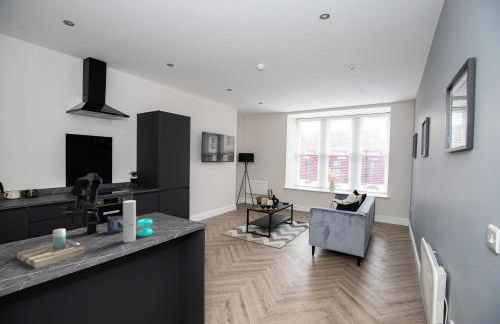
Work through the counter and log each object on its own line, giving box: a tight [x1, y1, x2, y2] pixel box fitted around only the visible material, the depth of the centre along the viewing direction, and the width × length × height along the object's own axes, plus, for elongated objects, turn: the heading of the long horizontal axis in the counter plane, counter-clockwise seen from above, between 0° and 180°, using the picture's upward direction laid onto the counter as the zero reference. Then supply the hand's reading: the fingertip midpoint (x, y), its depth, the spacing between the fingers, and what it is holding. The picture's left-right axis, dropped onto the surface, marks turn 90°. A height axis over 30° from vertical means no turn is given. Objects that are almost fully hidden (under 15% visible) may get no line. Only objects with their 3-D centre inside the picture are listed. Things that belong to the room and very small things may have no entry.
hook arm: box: [66, 238, 81, 247], centre depth 137 cm, size 14×2×2 cm, turn 61°
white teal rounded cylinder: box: [52, 228, 67, 253], centre depth 132 cm, size 6×6×13 cm
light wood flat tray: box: [16, 243, 85, 269], centre depth 129 cm, size 22×21×3 cm
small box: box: [106, 215, 123, 235], centre depth 170 cm, size 11×6×10 cm, turn 117°
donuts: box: [136, 218, 154, 238], centre depth 164 cm, size 10×10×10 cm
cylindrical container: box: [122, 199, 137, 243], centre depth 153 cm, size 7×7×25 cm
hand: (79, 224), depth 145 cm, fingers open, 9 cm apart
